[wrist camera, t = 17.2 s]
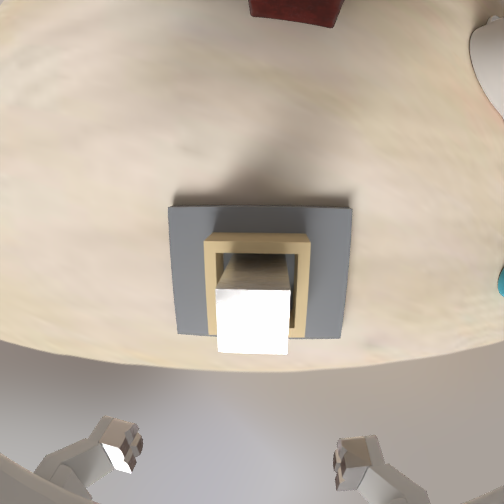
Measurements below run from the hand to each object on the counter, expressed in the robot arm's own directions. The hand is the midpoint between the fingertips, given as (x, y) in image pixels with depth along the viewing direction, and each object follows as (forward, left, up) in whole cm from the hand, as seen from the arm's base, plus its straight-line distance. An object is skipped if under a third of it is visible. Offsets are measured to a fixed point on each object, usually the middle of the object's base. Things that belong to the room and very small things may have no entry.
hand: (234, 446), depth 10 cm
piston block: (0, 0, -21) cm, 21 cm away
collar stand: (0, 0, -23) cm, 23 cm away
